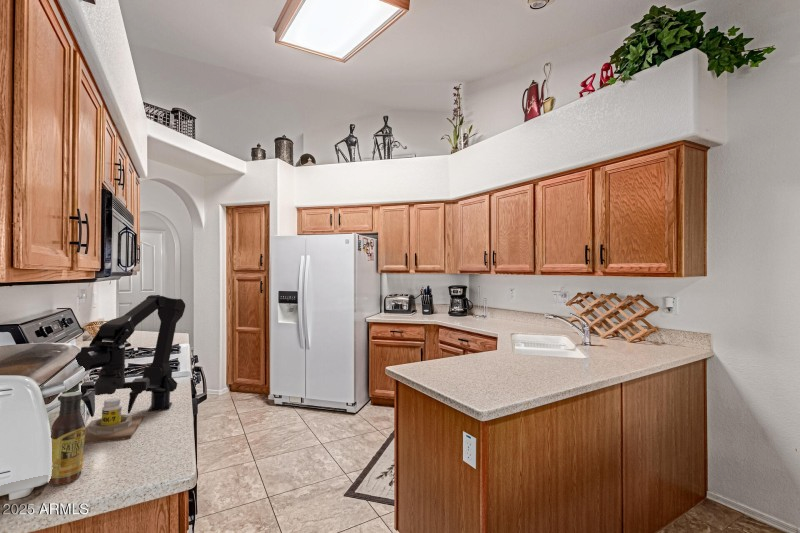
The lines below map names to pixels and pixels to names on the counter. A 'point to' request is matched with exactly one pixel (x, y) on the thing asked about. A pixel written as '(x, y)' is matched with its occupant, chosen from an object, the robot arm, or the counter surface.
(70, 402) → the sauce bottle
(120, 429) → the brown board with ring
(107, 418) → the supplement bottle
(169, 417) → the counter surface
